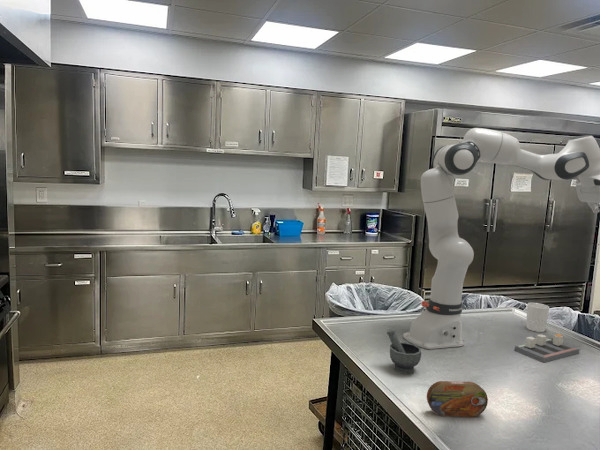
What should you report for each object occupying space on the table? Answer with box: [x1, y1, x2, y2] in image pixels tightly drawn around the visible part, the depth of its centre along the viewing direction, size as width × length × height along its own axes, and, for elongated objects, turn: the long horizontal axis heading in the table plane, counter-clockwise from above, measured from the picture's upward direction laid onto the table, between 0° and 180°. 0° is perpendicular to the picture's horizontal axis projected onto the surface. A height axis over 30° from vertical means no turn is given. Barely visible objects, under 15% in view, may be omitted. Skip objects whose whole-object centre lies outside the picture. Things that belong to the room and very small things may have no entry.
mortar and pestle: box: [386, 328, 422, 375], centre depth 140 cm, size 11×9×12 cm
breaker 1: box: [524, 336, 537, 348], centre depth 159 cm, size 2×2×3 cm
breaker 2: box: [535, 334, 547, 346], centre depth 162 cm, size 2×2×3 cm
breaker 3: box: [553, 333, 564, 346], centre depth 162 cm, size 2×2×4 cm
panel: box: [514, 338, 580, 363], centre depth 160 cm, size 20×11×2 cm, turn 119°
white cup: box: [525, 302, 550, 333], centre depth 183 cm, size 8×8×10 cm
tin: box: [426, 380, 489, 418], centre depth 115 cm, size 15×3×8 cm, turn 90°
